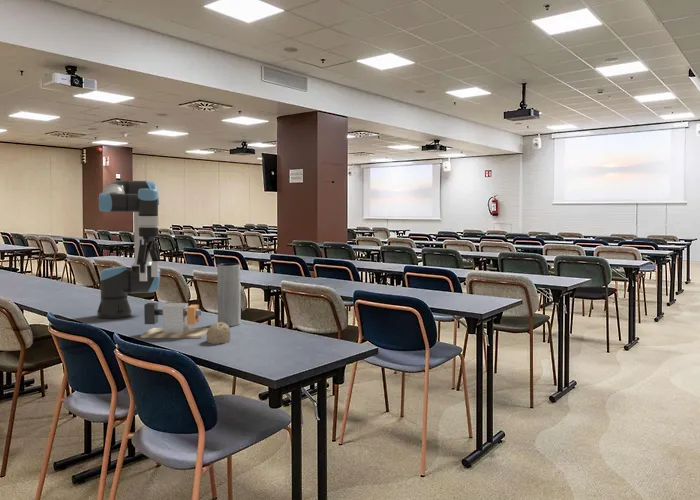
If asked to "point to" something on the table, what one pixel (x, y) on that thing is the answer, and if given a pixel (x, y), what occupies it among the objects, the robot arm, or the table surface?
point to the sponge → (218, 333)
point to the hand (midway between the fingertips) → (149, 279)
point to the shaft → (156, 313)
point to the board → (188, 334)
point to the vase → (229, 294)
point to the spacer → (192, 315)
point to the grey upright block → (175, 318)
